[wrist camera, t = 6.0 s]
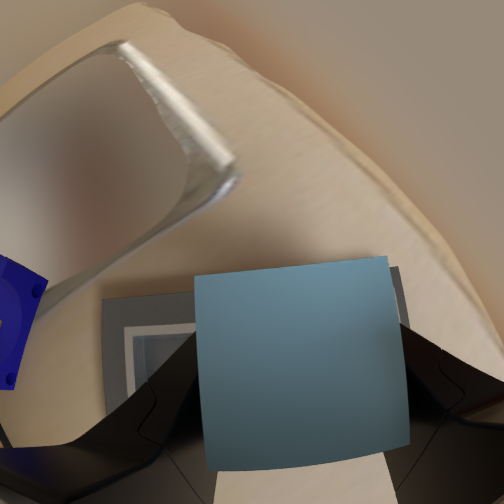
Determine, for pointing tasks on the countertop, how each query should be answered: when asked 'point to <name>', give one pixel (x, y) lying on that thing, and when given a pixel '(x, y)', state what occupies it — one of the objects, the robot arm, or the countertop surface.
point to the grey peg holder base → (159, 336)
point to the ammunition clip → (4, 439)
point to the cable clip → (16, 315)
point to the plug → (300, 365)
